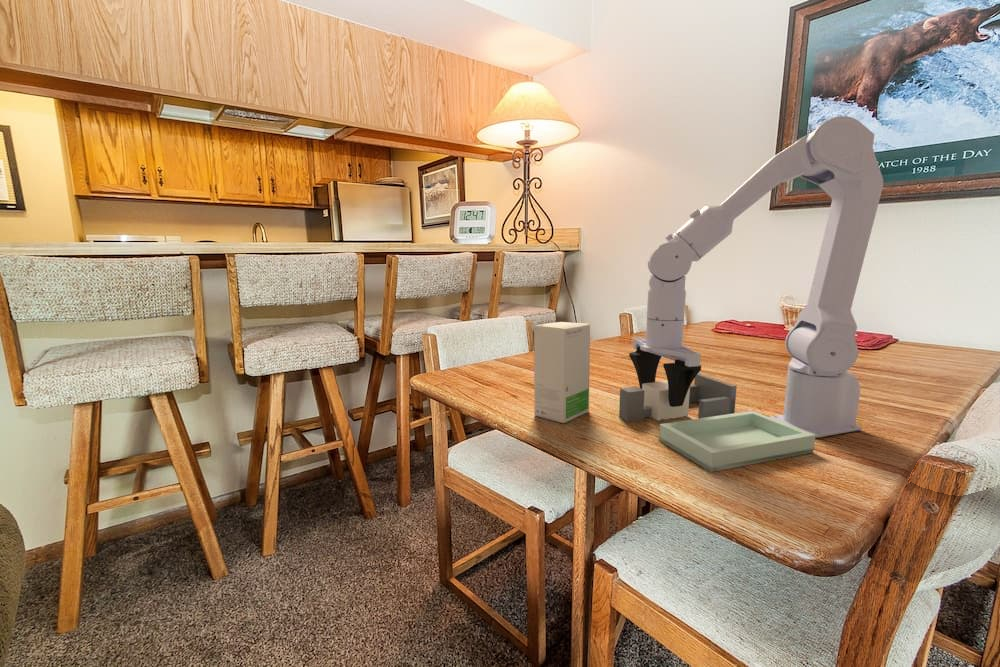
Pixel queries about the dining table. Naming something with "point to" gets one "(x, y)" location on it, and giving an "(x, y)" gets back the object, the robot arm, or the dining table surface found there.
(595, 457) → the dining table surface
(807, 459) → the dining table surface
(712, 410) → the bay
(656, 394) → the joined block pair
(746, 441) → the tray
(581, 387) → the skincare box
